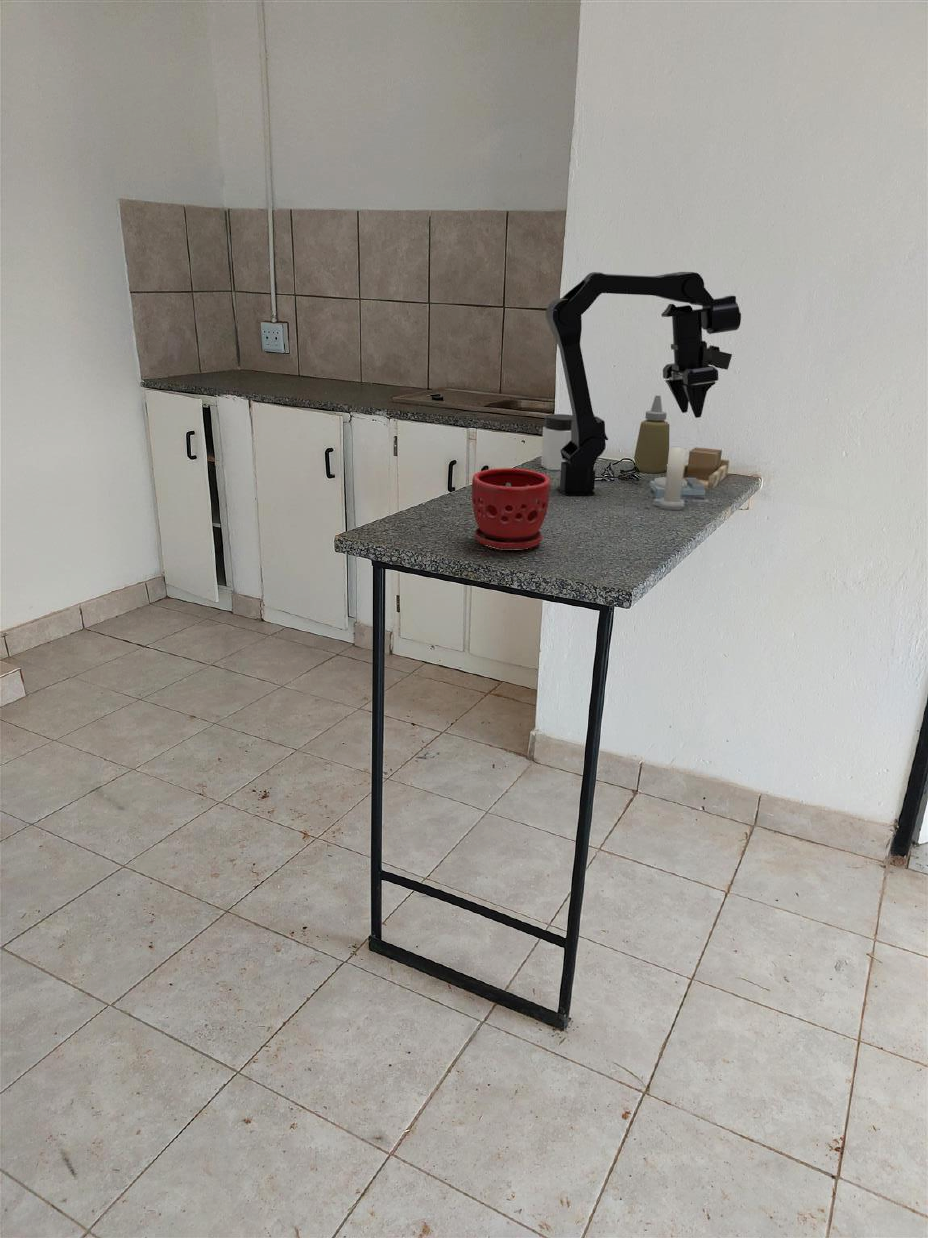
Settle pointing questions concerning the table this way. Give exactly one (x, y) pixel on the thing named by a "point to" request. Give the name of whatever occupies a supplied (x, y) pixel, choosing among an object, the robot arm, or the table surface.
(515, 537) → the plant pot
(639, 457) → the squeeze bottle
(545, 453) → the jar
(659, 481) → the grey socket base
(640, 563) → the table surface
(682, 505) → the crank handle
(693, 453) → the box
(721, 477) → the bay
